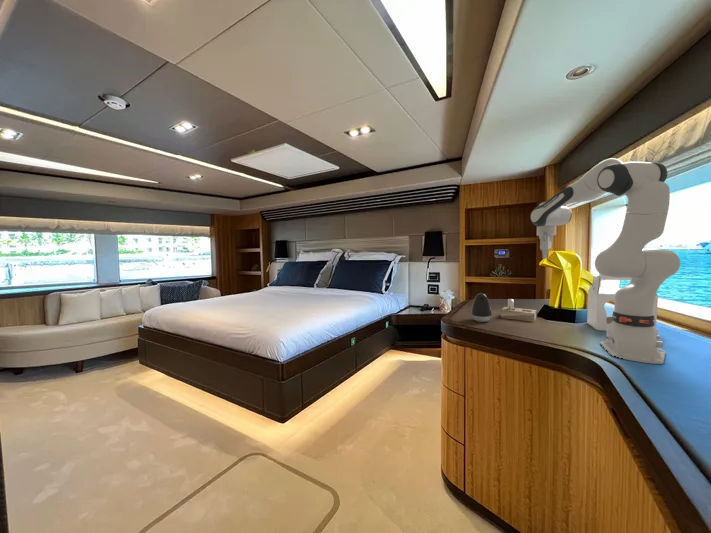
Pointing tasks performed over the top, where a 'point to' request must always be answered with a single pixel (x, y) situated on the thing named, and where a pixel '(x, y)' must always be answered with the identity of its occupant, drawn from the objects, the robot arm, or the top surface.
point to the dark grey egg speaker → (481, 308)
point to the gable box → (599, 298)
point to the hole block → (519, 314)
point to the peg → (510, 304)
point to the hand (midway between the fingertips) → (545, 258)
